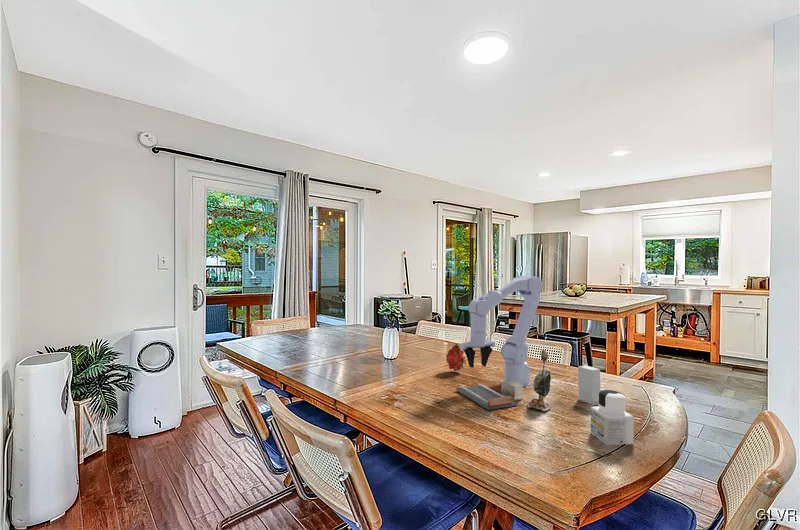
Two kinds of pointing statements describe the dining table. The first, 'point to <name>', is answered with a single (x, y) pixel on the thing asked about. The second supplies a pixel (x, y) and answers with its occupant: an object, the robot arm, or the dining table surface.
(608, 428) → the container
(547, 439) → the dining table surface
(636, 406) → the dining table surface
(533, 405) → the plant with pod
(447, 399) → the dining table surface
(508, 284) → the robot arm
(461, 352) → the dragon fruit
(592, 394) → the skincare box
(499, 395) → the rail guide
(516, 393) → the block
